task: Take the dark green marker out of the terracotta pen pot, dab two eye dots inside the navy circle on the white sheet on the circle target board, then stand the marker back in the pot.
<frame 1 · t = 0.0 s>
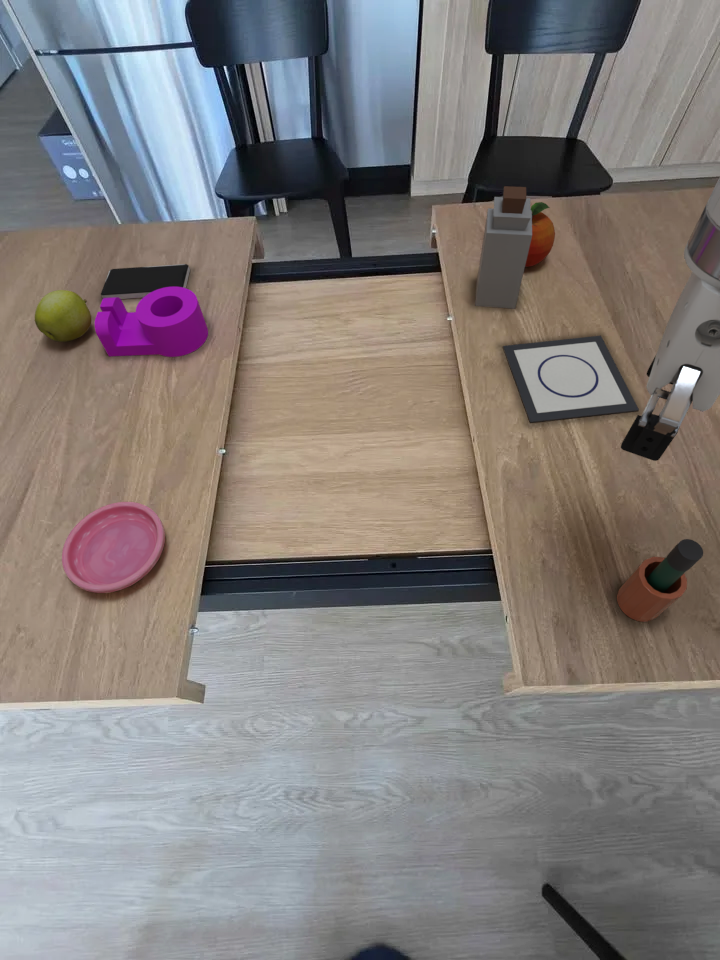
hand: (651, 414, 50), 23 cm above the table, tool pointing down, fingers open, 9 cm apart
perfume bottle: (495, 295, 96), on the table
pen pot: (638, 601, 64), on the table
saucer: (122, 554, 71), on the table
apple: (76, 335, 95), on the table
circle target board: (567, 377, 85), on the table
marker: (639, 600, 64), resting on pen pot
fruit: (521, 260, 102), on the table
smartphone: (147, 285, 102), on the table
tape dispenser: (161, 338, 94), on the table
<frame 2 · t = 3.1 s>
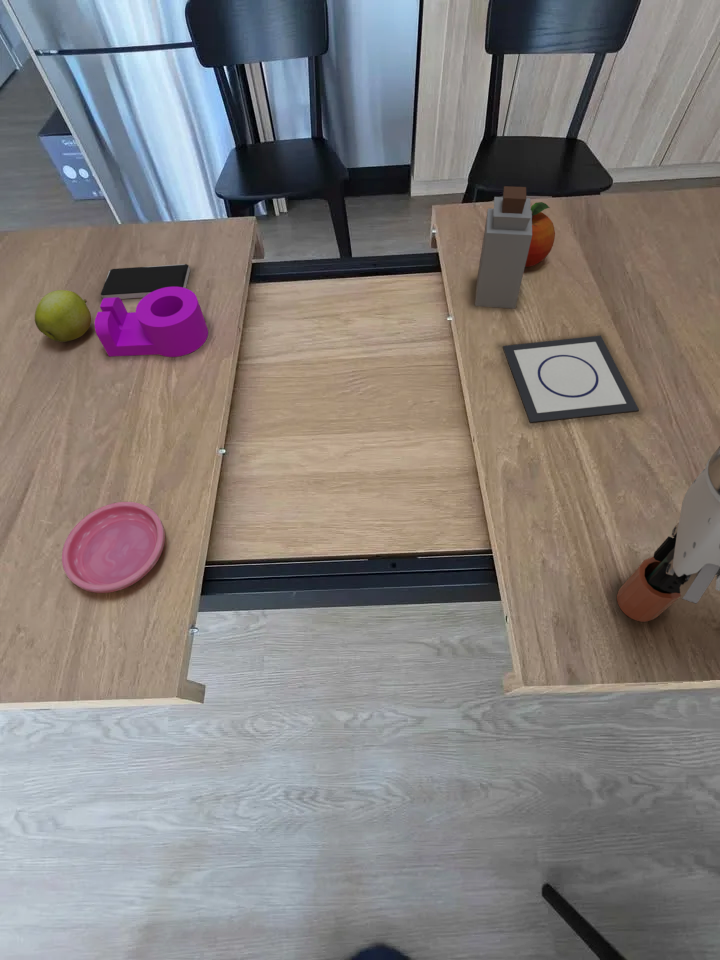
hand: (667, 573, 58), 8 cm above the table, tool pointing down, fingers closed on marker, 2 cm apart
marker: (639, 600, 64), point 1 cm above the table, touching gripper, pen pot
everything else where it was.
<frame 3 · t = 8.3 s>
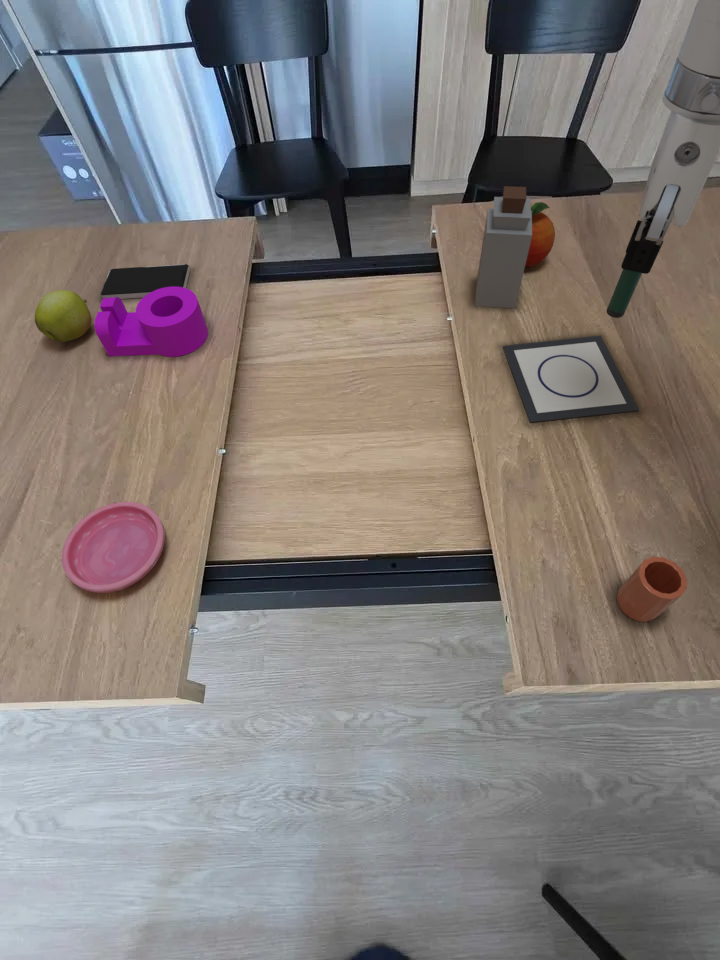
hand: (637, 261, 66), 21 cm above the table, tool pointing down, fingers closed on marker
marker: (615, 312, 72), point 14 cm above the table, touching gripper
everything else where it was.
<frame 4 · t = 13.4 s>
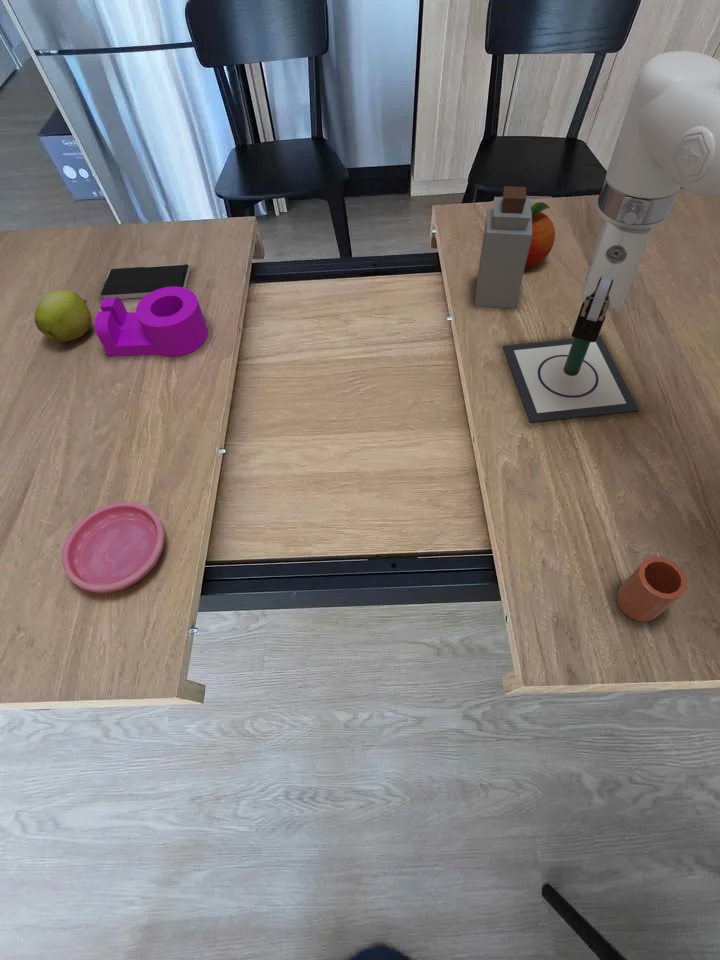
hand: (586, 330, 74), 11 cm above the table, tool pointing down, fingers closed on marker
marker: (571, 370, 81), point 4 cm above the table, touching gripper
everything else where it was.
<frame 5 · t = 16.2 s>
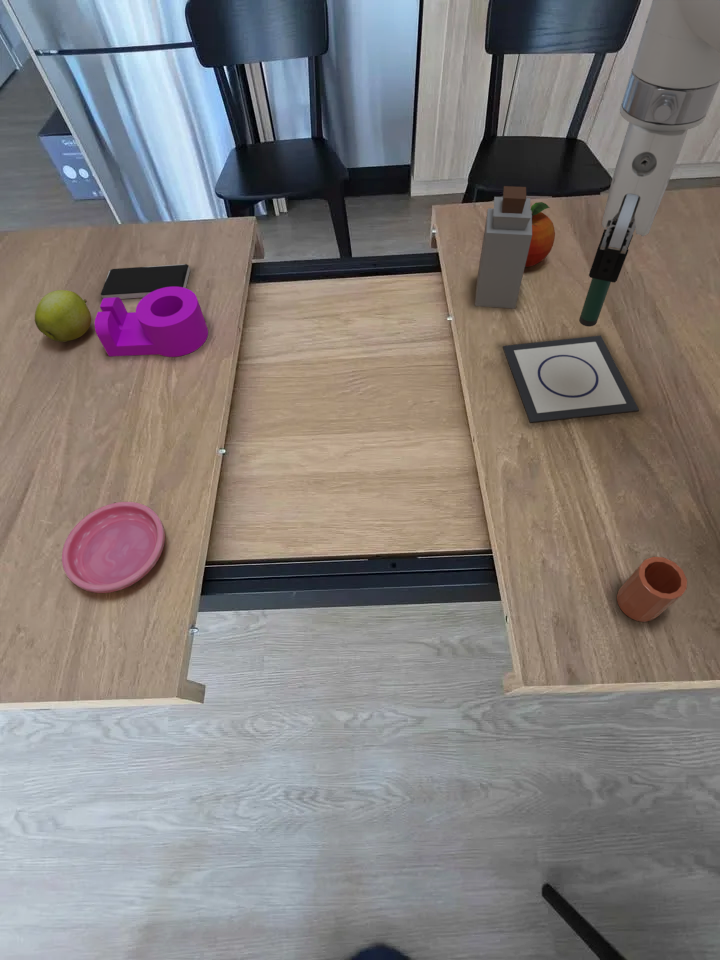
hand: (605, 270, 66), 21 cm above the table, tool pointing down, fingers closed on marker
marker: (587, 321, 72), point 13 cm above the table, touching gripper
everything else where it was.
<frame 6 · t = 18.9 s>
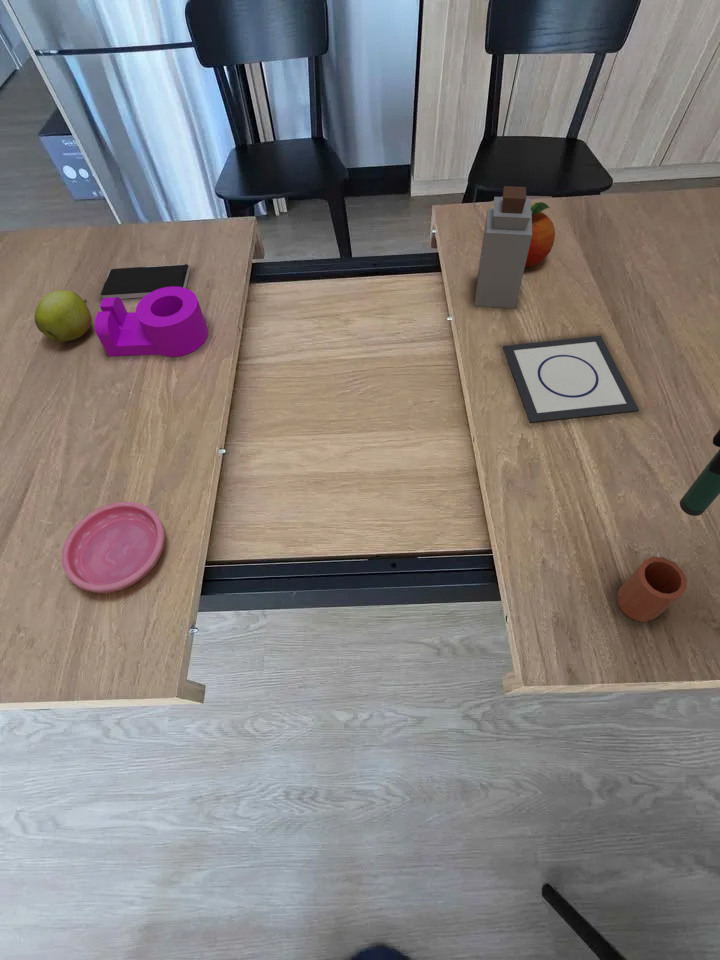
marker: (691, 506, 53), point 16 cm above the table, touching gripper
everything else where it was.
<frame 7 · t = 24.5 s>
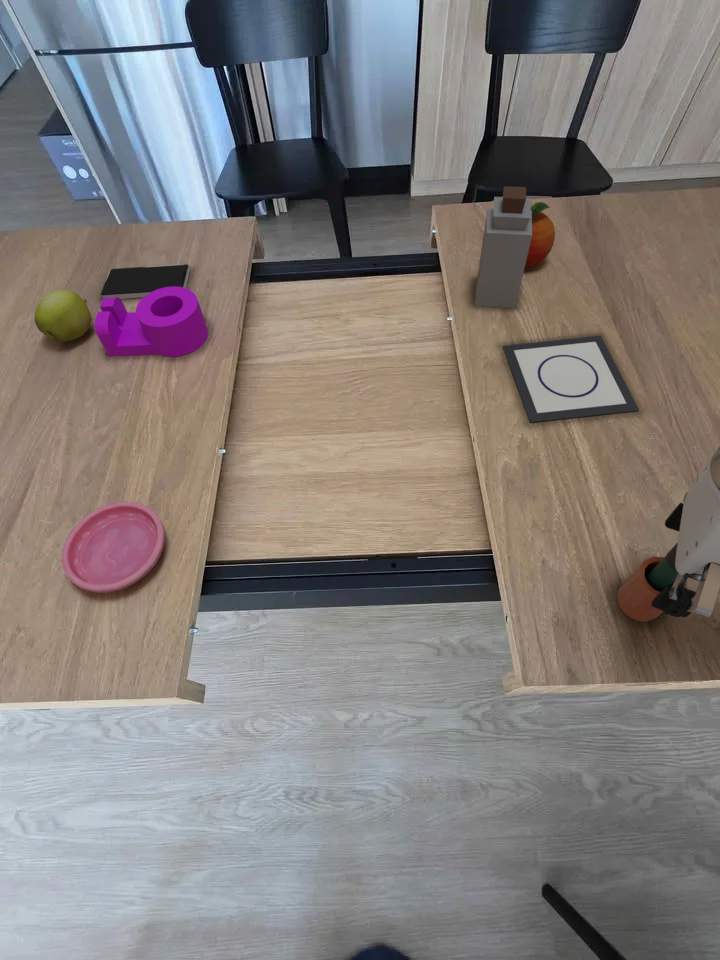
hand: (673, 567, 57), 9 cm above the table, tool pointing down, fingers open, 9 cm apart
marker: (639, 599, 64), resting on pen pot
everything else where it was.
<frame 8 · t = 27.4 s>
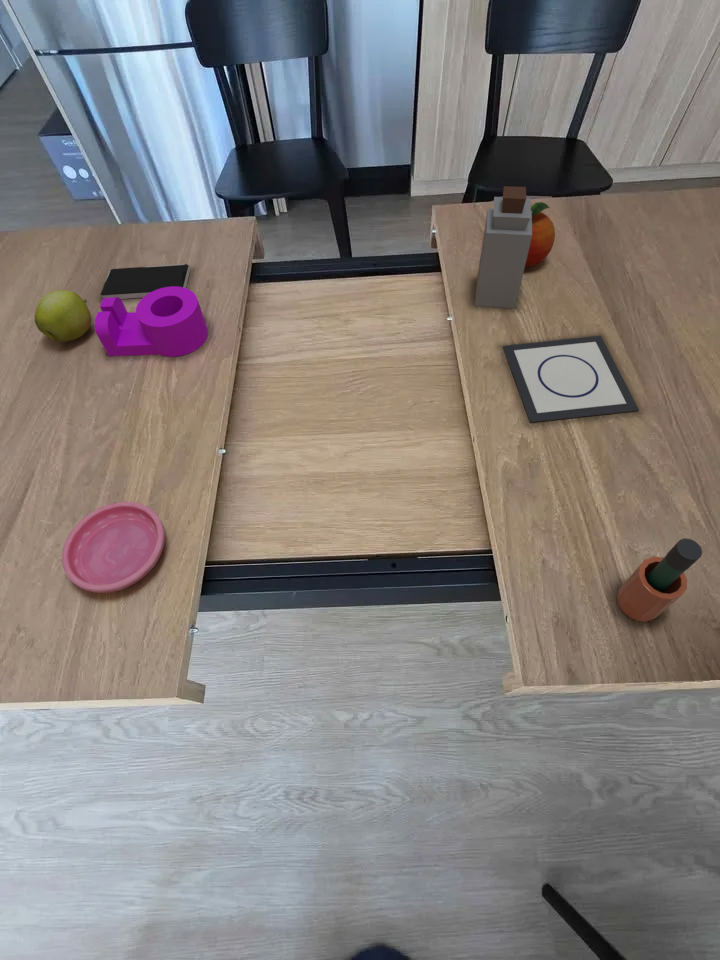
nothing on the table moved.
at the end: marker 0.1 cm off-centre in the pen pot, point 0.5 cm above the pen pot's base; marker tilted 0°; marker touching pen pot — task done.
